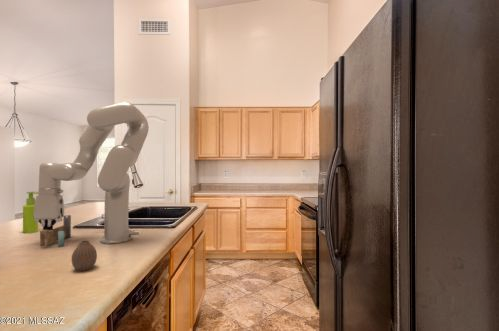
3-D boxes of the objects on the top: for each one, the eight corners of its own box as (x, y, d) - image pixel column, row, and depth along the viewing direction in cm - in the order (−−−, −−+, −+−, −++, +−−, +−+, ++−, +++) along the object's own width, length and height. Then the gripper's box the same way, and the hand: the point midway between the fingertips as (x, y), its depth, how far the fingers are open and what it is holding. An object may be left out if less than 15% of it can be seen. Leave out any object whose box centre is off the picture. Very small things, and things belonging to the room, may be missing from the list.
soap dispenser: (31, 233, 131) (31, 192, 132) (19, 233, 133) (20, 192, 133) (42, 231, 137) (43, 191, 137) (31, 230, 139) (31, 191, 139)
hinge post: (71, 236, 126) (71, 215, 126) (69, 238, 124) (69, 216, 124) (64, 237, 125) (64, 215, 125) (62, 238, 123) (62, 216, 123)
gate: (61, 236, 122) (62, 223, 122) (67, 236, 123) (67, 223, 123) (39, 246, 108) (40, 231, 108) (45, 246, 108) (45, 230, 108)
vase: (91, 263, 91) (91, 237, 91) (100, 268, 87) (100, 240, 87) (68, 269, 86) (68, 241, 86) (76, 274, 82) (76, 245, 82)
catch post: (64, 245, 112) (64, 230, 112) (63, 246, 110) (63, 231, 110) (59, 245, 112) (59, 231, 112) (57, 247, 110) (57, 232, 110)
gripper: (72, 191, 120) (71, 233, 120) (37, 190, 119) (35, 233, 118) (62, 193, 112) (60, 237, 112) (24, 192, 111) (22, 237, 111)
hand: (47, 235), depth 115 cm, fingers closed
